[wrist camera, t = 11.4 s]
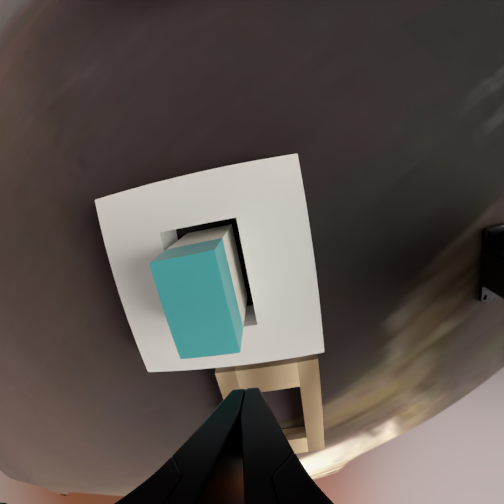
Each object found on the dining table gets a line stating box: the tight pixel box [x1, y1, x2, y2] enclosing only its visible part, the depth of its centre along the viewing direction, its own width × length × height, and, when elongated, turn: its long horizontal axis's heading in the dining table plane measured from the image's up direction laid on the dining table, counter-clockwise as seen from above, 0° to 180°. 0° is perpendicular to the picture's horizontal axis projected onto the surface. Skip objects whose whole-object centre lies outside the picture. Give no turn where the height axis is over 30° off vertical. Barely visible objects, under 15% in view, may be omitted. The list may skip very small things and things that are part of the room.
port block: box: [95, 154, 324, 372], centre depth 18 cm, size 12×12×3 cm
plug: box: [149, 224, 247, 359], centre depth 16 cm, size 3×5×7 cm, turn 11°
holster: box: [215, 354, 324, 454], centre depth 22 cm, size 7×11×2 cm
